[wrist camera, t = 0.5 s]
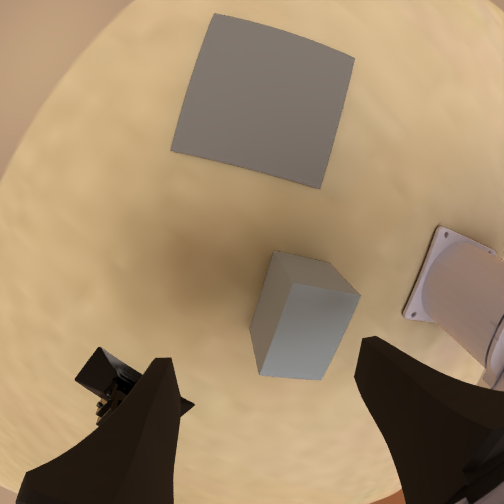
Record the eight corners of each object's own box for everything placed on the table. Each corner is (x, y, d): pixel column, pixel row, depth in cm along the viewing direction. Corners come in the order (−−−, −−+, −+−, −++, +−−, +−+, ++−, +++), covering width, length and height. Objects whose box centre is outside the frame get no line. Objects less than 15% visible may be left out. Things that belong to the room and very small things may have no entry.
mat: (351, 60, 16) (355, 58, 15) (316, 188, 18) (319, 189, 18) (214, 17, 14) (214, 13, 13) (171, 151, 16) (170, 150, 16)
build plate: (214, 401, 24) (216, 443, 19) (169, 436, 25) (166, 473, 21) (88, 323, 20) (67, 360, 15) (58, 371, 21) (40, 406, 17)
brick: (329, 262, 20) (360, 295, 15) (301, 336, 22) (321, 380, 17) (273, 249, 19) (292, 282, 14) (249, 328, 21) (259, 375, 16)
